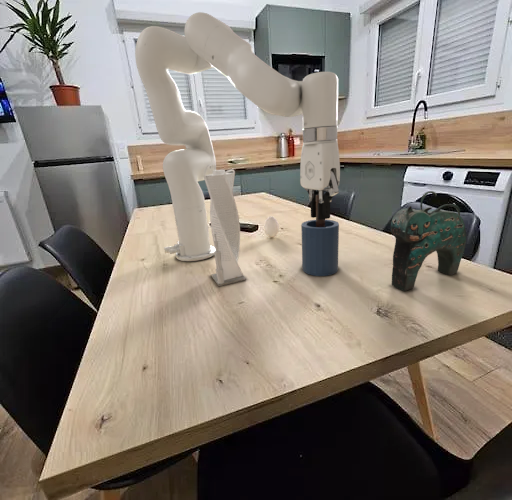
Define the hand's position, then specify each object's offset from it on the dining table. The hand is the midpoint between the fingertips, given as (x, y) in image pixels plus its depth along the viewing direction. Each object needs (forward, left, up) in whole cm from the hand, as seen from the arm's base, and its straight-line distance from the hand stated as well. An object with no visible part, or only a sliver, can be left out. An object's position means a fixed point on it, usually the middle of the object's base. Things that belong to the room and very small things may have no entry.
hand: (320, 217), depth 72 cm
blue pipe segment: (0, 0, -14) cm, 14 cm away
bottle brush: (0, 0, -10) cm, 10 cm away
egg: (+2, +33, -14) cm, 36 cm away
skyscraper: (-22, +8, -14) cm, 27 cm away
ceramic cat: (+16, -17, -14) cm, 27 cm away
